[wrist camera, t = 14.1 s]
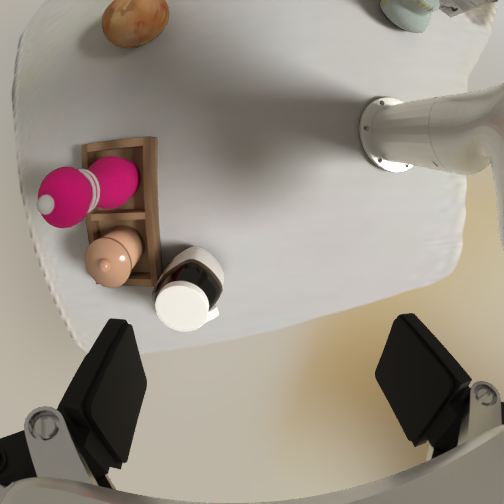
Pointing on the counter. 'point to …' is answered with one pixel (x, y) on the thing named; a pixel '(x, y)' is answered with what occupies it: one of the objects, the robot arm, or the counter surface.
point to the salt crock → (114, 256)
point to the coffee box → (461, 5)
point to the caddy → (131, 204)
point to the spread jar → (189, 290)
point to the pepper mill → (86, 190)
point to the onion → (134, 21)
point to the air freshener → (410, 13)
